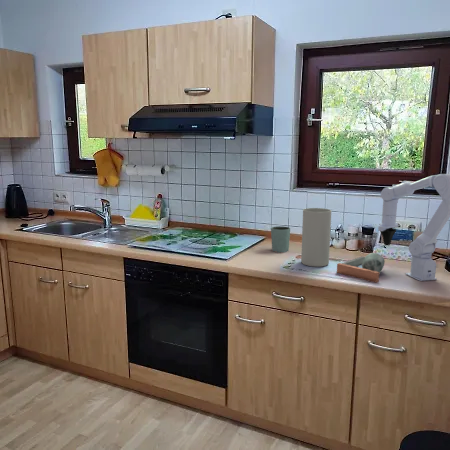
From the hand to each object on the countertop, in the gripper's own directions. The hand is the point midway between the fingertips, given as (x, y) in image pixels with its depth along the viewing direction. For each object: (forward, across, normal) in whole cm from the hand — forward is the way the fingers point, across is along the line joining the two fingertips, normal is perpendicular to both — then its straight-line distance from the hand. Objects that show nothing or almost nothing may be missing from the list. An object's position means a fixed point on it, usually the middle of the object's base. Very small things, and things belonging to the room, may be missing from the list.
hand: (387, 244), depth 186 cm
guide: (+10, +12, -2) cm, 16 cm away
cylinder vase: (+10, +18, -25) cm, 33 cm away
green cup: (+10, +11, -52) cm, 54 cm away
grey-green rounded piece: (+11, +12, 0) cm, 16 cm away
